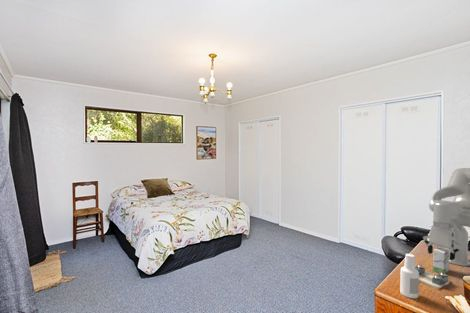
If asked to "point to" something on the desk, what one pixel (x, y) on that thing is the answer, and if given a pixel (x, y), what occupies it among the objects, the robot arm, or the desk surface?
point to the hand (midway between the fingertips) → (440, 256)
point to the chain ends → (437, 279)
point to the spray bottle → (409, 278)
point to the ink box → (441, 260)
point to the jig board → (430, 280)
